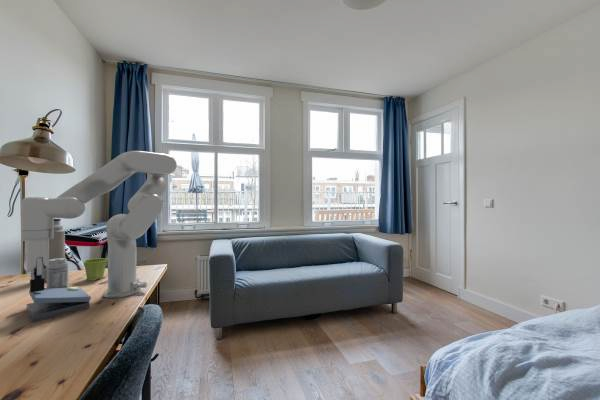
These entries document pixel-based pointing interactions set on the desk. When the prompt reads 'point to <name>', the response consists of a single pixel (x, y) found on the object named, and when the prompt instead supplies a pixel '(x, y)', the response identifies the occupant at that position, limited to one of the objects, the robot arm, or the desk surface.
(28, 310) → the tribrach base
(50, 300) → the plate
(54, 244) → the thermos bottle
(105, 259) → the plant pot
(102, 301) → the desk surface
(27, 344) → the desk surface
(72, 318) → the desk surface
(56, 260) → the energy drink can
